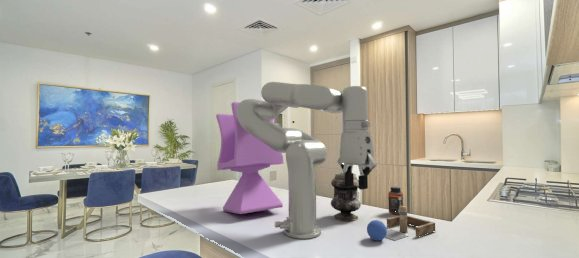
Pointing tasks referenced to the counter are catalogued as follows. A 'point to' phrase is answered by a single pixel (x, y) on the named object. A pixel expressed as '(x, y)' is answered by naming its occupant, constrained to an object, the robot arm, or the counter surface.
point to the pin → (403, 218)
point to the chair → (246, 166)
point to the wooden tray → (422, 225)
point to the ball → (376, 230)
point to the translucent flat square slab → (394, 235)
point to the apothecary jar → (345, 198)
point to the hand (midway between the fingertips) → (356, 187)
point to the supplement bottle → (395, 200)
